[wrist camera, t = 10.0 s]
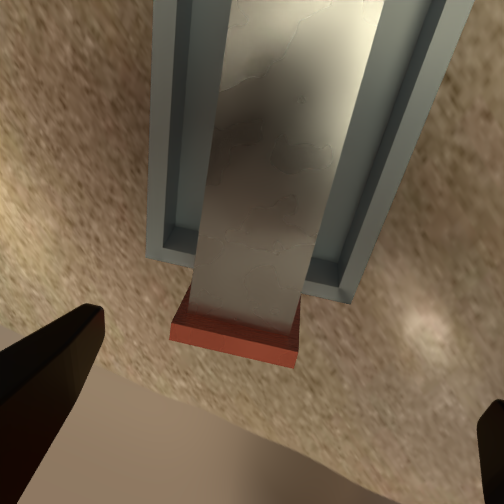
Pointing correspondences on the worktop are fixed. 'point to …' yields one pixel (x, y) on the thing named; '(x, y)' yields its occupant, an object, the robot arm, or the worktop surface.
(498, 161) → the worktop surface
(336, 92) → the red capped grey bar
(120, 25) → the worktop surface
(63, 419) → the robot arm
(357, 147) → the tray
